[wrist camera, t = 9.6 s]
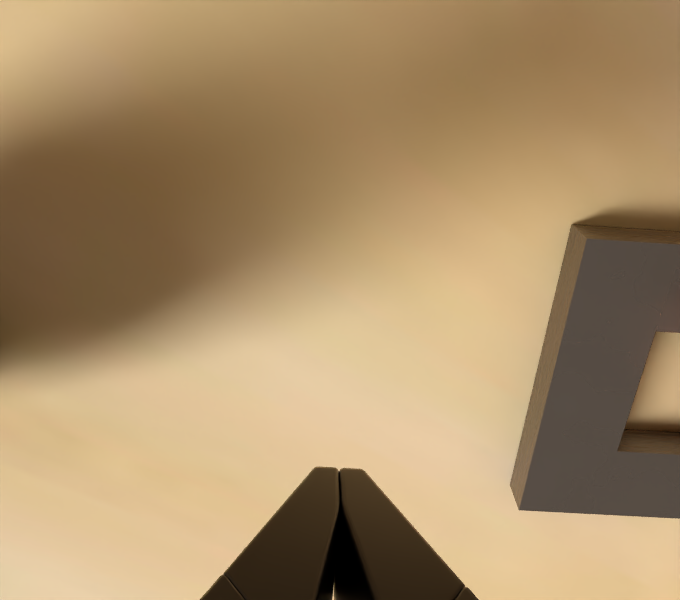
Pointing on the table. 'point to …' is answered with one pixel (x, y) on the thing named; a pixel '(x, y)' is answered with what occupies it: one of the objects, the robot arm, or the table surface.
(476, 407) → the table surface
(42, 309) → the table surface
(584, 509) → the plate
